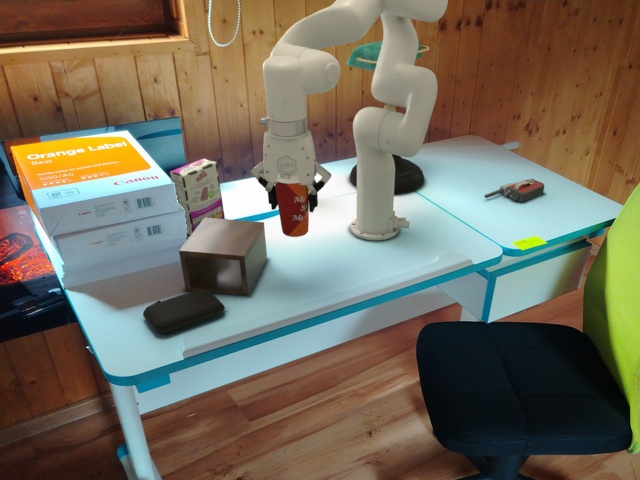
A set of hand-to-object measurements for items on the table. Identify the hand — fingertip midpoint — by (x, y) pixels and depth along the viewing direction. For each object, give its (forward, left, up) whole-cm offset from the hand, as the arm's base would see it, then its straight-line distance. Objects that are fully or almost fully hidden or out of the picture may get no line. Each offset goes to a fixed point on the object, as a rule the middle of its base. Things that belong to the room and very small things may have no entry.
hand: (293, 207), depth 132 cm
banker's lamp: (-14, -62, -18) cm, 67 cm away
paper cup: (0, 0, -6) cm, 6 cm away
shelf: (+16, 0, -18) cm, 25 cm away
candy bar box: (+30, -22, -19) cm, 42 cm away
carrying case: (+20, +17, -18) cm, 32 cm away
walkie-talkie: (-53, -57, -18) cm, 81 cm away
